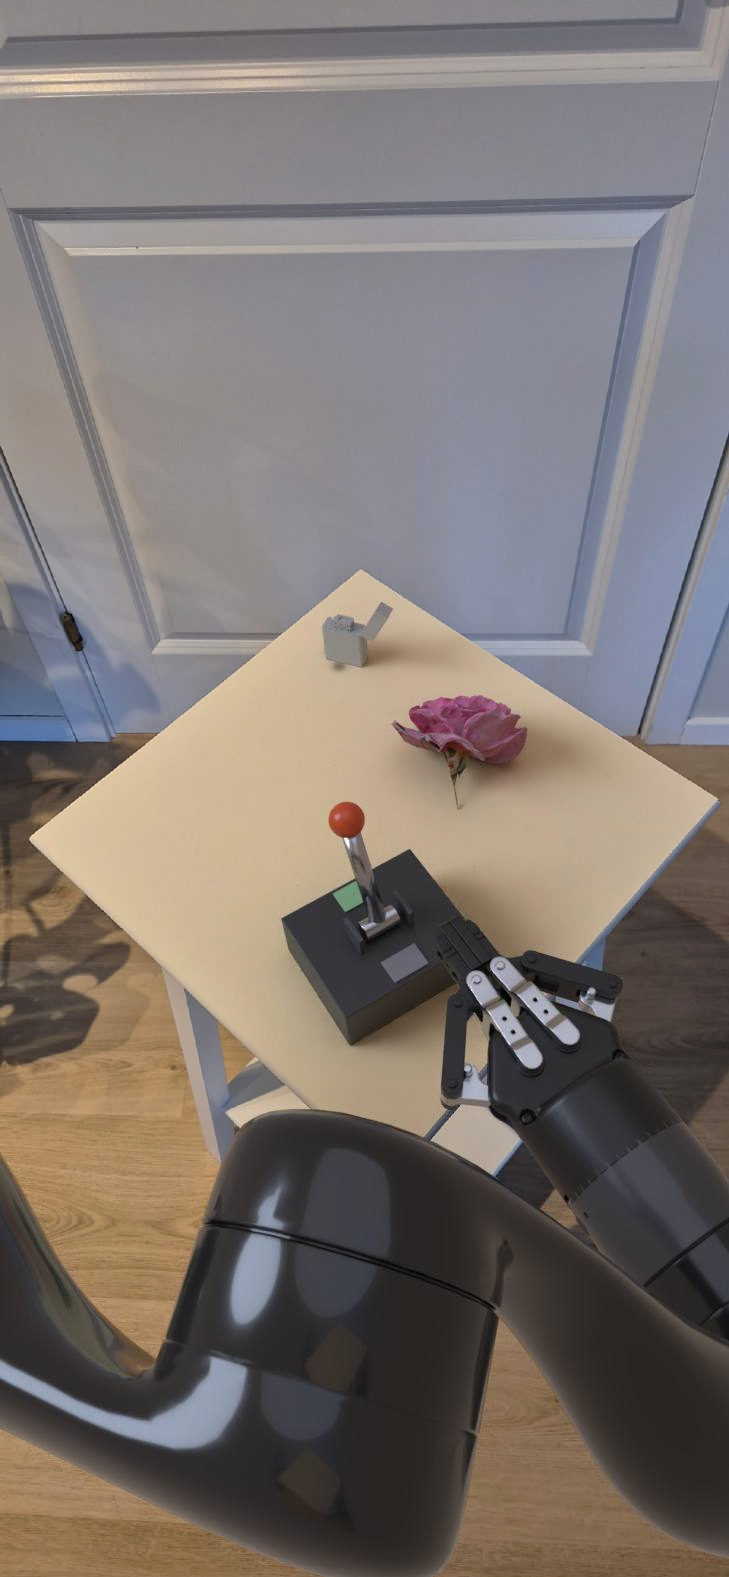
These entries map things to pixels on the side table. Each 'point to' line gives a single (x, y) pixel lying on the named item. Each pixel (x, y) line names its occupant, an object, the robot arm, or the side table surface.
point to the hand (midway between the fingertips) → (445, 927)
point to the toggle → (362, 869)
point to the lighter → (352, 636)
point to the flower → (465, 731)
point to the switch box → (373, 948)
